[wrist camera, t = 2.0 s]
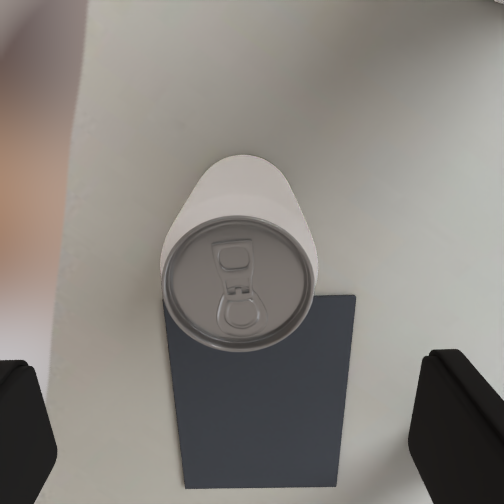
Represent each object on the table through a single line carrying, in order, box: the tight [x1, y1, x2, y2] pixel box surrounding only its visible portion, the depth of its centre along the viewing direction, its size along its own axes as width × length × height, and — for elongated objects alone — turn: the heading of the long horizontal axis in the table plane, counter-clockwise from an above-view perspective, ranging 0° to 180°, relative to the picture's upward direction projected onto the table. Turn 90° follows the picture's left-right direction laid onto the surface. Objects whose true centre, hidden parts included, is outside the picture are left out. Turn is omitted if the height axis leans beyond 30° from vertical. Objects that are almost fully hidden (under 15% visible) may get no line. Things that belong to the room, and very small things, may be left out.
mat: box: [163, 295, 356, 489], centre depth 31 cm, size 20×14×1 cm
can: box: [160, 155, 318, 352], centre depth 19 cm, size 6×6×12 cm
